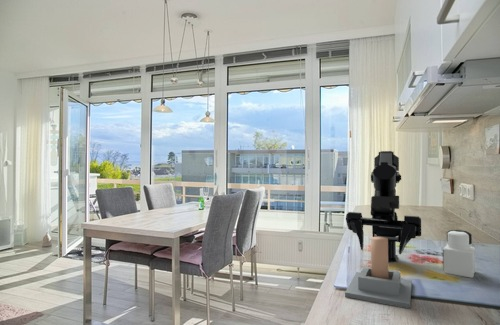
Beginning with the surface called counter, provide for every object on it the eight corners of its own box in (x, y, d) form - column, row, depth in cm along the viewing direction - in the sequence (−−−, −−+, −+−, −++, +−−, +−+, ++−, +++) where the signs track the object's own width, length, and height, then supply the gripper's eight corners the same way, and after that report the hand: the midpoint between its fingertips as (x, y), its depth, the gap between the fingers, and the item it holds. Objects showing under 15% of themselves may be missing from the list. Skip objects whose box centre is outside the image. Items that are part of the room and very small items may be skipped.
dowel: (377, 281, 84) (376, 235, 84) (391, 286, 81) (391, 238, 81) (368, 285, 82) (367, 238, 82) (382, 290, 78) (382, 241, 78)
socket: (356, 275, 92) (356, 261, 92) (411, 283, 85) (411, 268, 85) (345, 296, 77) (344, 279, 77) (409, 308, 71) (409, 290, 71)
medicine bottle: (447, 266, 99) (446, 227, 98) (475, 271, 94) (475, 230, 94) (443, 273, 93) (442, 231, 93) (472, 278, 88) (472, 234, 88)
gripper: (346, 183, 92) (338, 230, 82) (420, 185, 83) (421, 238, 73) (352, 207, 99) (345, 252, 89) (421, 211, 90) (421, 262, 80)
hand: (380, 251), depth 83 cm, fingers open, 9 cm apart
